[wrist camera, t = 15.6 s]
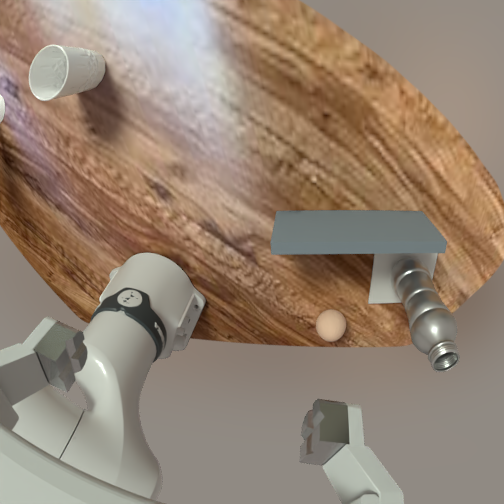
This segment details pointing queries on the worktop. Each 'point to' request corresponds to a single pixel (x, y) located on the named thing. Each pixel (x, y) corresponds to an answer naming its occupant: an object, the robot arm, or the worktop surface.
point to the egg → (331, 325)
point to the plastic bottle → (426, 313)
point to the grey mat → (382, 274)
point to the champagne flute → (2, 108)
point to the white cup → (65, 71)
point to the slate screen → (355, 232)
